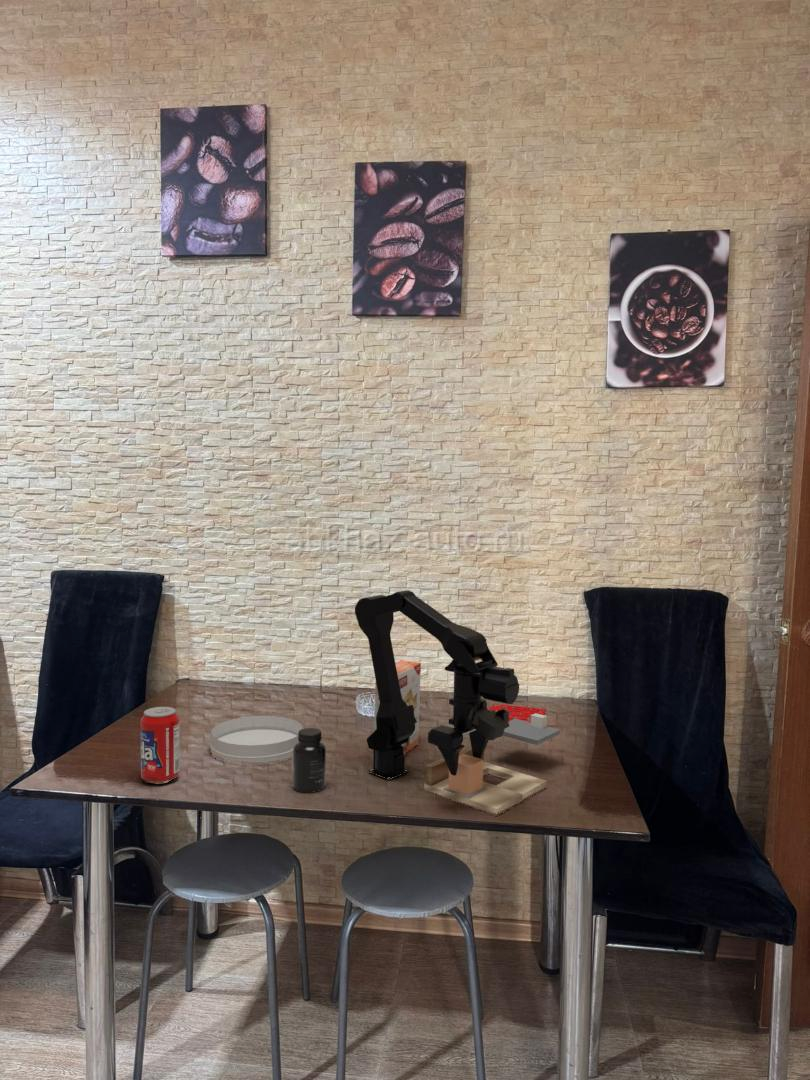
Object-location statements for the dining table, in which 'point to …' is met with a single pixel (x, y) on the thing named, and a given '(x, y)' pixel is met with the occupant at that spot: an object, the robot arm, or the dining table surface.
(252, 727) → the dish
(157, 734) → the soda can
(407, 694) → the cracker box
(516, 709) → the maze puzzle
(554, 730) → the sliding cover
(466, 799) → the puzzle board
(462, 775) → the block
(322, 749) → the supplement bottle
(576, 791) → the dining table surface
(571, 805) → the dining table surface
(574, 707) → the dining table surface
